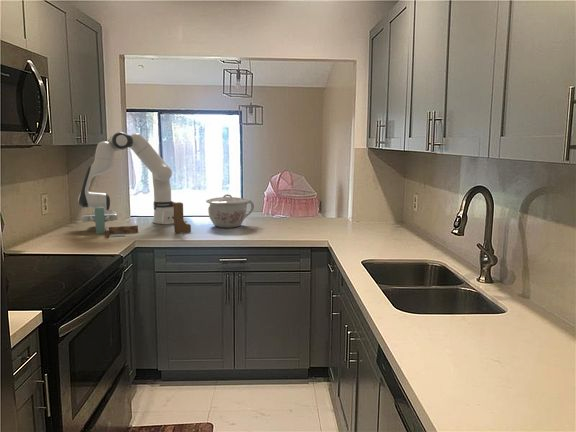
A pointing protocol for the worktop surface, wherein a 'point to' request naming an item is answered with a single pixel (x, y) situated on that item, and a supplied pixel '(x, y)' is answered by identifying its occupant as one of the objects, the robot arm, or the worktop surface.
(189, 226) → the wooden block
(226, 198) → the chamber pot
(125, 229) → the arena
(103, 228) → the painted block
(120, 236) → the pad
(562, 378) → the worktop surface
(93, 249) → the worktop surface
